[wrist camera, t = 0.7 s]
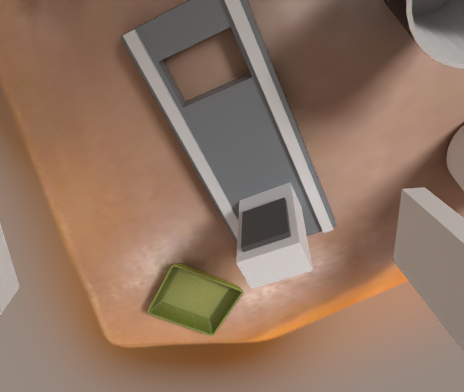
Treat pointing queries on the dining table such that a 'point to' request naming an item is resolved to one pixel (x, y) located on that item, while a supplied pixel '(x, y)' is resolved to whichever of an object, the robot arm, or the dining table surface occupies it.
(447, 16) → the coffee mug
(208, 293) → the green square tray
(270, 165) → the rail
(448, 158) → the milk bottle
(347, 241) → the dining table surface
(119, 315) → the dining table surface
